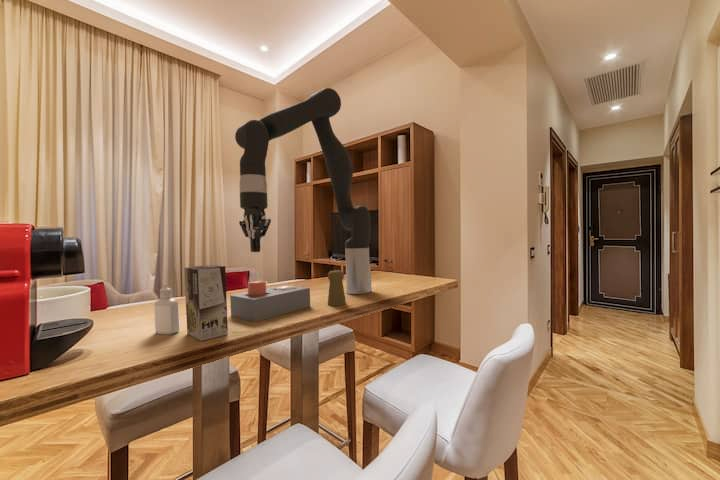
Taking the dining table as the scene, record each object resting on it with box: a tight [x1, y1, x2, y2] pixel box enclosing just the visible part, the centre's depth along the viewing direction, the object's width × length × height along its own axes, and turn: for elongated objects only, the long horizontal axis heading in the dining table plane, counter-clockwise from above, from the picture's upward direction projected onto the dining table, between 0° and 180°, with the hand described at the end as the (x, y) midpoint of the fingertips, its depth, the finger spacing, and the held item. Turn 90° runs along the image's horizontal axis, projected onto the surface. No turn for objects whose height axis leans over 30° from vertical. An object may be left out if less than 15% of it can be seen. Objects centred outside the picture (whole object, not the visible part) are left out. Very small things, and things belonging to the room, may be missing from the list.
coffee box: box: [183, 264, 229, 342], centre depth 72 cm, size 9×6×16 cm
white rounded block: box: [276, 285, 294, 291], centre depth 97 cm, size 5×5×6 cm
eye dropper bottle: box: [153, 283, 180, 335], centre depth 75 cm, size 4×6×12 cm
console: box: [229, 284, 311, 323], centre depth 93 cm, size 20×12×6 cm, turn 142°
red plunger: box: [247, 280, 267, 297], centre depth 89 cm, size 5×5×6 cm
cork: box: [327, 269, 347, 307], centre depth 99 cm, size 6×6×11 cm
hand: (255, 251), depth 89 cm, fingers closed
